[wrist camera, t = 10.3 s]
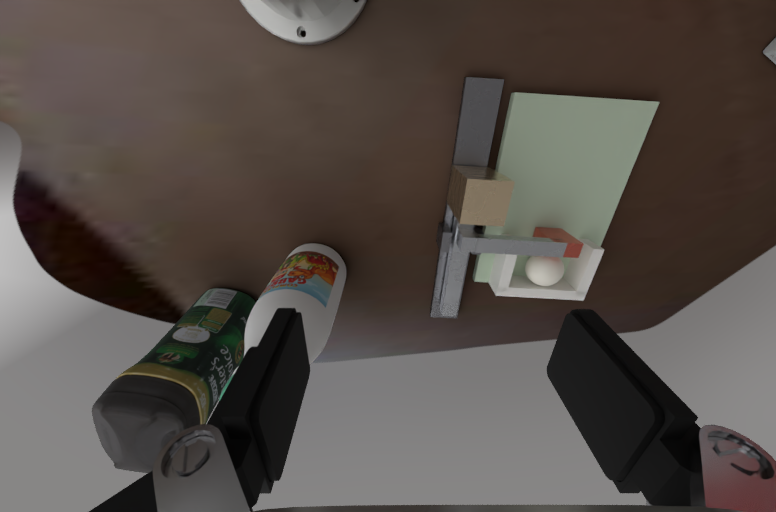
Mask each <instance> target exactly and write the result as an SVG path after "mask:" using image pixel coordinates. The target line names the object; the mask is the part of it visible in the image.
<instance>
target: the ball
mask: <svg viewBox="0 0 776 512" xmlns="http://www.w3.org/2000/svg"><path fill="white" fill-rule="evenodd" d="M525 272H526V275H527V277H528V278H529V279H530V280H531V281H532V282H533V283H535V284H537V285H540V286H550V285H553V284H555V283H557V282H558V281H559V280H560V279H561V278H562V276H563V274H564V264H563V262H562V260H561V259H560V258H559V257H544V256H531V257H530V258H529V259H528V260H527V262H526V265H525Z"/></svg>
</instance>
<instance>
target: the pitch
mask: <svg viewBox="0 0 776 512" xmlns="http://www.w3.org/2000/svg"><path fill="white" fill-rule="evenodd" d="M658 105H659V102H654V101H639V100H623V99H608V98H593V97H578V96H563V95H548V94H533V93H518V92H514V93H511V97H510V101H509V106H508V111H507V116H506V120H505V125H504V130H503V135H502V139H501V144H500V149H499V154H498V158H497V163H496V168H495V171H497V172H499V173H501V174H502V175H504V176H506V177H508V178H509V179H511V180H513V181H514V182H515V183H514V187H513V191H512V195H511V200H510V204H509V208H508V212H507V216H506V220H505V224H504V227H503V226H486V225H483V229H482V231H483V233H484V234H490V235H500V234H510V235H511V236H524V237H533V234H534V230H535V227H546V228H562V229H563V230H565V231H566V232H567V233H569V234H570V235H572V236H573V237H575V238H576V239H577V240H578V238H579V239H589V240H590V241H592V242H594V243H595V244H597V245H598V246H600V247H601V244H602V242H603V239H604V237H605V235H606V232H607V230H608V227H609V225H610V222H611V220H612V217H613V215H614V212H615V210H616V208H617V205H618V203H619V200H620V198H621V195H622V193H623V190H624V188H625V185H626V183H627V181H628V178H629V176H630V173H631V171H632V168H633V166H634V163H635V161H636V159H637V156H638V154H639V151H640V149H641V146H642V144H643V141H644V139H645V136H646V134H647V132H648V129H649V127H650V124H651V122H652V119H653V117H654V114H655V112H656V109H657V107H658ZM494 257H495V254H492V253H481V255H477V258H476V263H475V267H474V272H473V277H472V278H473V280H474V282H489V278H490V274H491V270H492V265H493V261H494ZM530 257H531V256H527V255H517V259H516V262H515V266H514V269H513V273H512V275H514V276H527V275H526V272H525V265H526V262H527V260H528V259H529V258H530ZM559 258H560V259H561V260H562V262H563V264H564V274H563V276H562V278H564V275H565V273H566V270H567V267H568V264H569V262H570V259H571V258H569V257H563V258H562V257H559Z"/></svg>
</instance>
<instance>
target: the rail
mask: <svg viewBox="0 0 776 512" xmlns="http://www.w3.org/2000/svg"><path fill="white" fill-rule="evenodd" d="M503 84H504V79H489V78H474V77H465V78H464V85H463V91H462V98H461V105H460V112H459V119H458V125H457V132H456V139H455V146H454V152H453V159H452V165H460V166H476V167H487V164H488V159H489V154H490V149H491V144H492V139H493V134H494V129H495V124H496V119H497V114H498V109H499V104H500V99H501V94H502V89H503ZM451 169H452V166H451ZM450 176H451V173H450ZM449 183H450V180H449ZM448 189H449V186H448ZM447 196H448V193H447ZM453 222H454V214H453V212H452V211H451V209H450V207H449V206H448V204H447V200H446V207H445V214H444V220H443V223H439V226H438V233H437V240H436V242H437V245H438V248H439V254H438V261H437V268H436V275H435V281H434V288H433V295H432V302H431V308H430V317H441V318H457V315H458V310H459V305H460V300H461V295H462V290H463V285H464V280H465V275H466V270H467V265H468V260H469V255H470V252H469V253H468V258H467V263H466V268H465V273H464V278H463V283H462V288H461V293H460V298H459V304H458V309H457V314H456V317H454V316H442V315H441V311H440V302H441V296H442V290H443V284H444V277H445V271H446V265H447V259H448V253H449V250H450V244H451V238H452V228H453ZM473 230H474V232H475V233H476V234H484V233H483V231H482V230H481V229H480V227H479V226H478V225H474V227H473ZM471 253H472V254H477V255H481V253H475V252H471Z"/></svg>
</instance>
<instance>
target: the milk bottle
mask: <svg viewBox="0 0 776 512" xmlns="http://www.w3.org/2000/svg"><path fill="white" fill-rule="evenodd" d="M345 280H346V266H345V263H344V261H343V259H342V258H341V256H340V255H339V254H338V253H337V252H336V251H334V250H333V249H332V248H330V247H328V246H325V245H322V244H317V243H310V244H304V245H301V246H299V247H297V248H296V249H294V250H293V251H292V252H291V253H290V255H289V256H288V257H287V258H286V260H285V261H284V263H283V264H282V265H281V267H280V268H279V270H278V271H277V272H276V274H275V275H274V277H273V278H272V280H271V281H270V282H269V284H268V285H267V287H266V288H265V290H264V291H263V293H262V294H261V296H260V297H259V299H258V300H257V302H256V304H255V305H254V307H253V309H252V311H251V313H250V315H249V317H248V320H247V324H246V328H245V337H244V343H245V349H244V356H245V354H246V352H247V351H248V349H249V348H251V347H257V346H258V344H259V342H260V341H261V339H262V337H263V335H264V333H265V331H266V329H267V327H268V325H269V323H270V321H271V319H272V317H273V316H274V314H275V312H276V310H277V309H278V308H295V309H296V312H301V314H302V320H303V326H304V333H305V339H306V345H307V352H308V358H309V364H311V363H312V362H313V361H314V360H315V359H316V358H317V357H318V356H319V354H320V353H321V352H322V350H323V348H324V347H325V345H326V343H327V341H328V338H329V336H330V333H331V330H332V327H333V324H334V320H335V317H336V313H337V310H338V306H339V303H340V299H341V295H342V292H343V288H344V284H345ZM243 358H244V357H243ZM238 367H239V366H238ZM238 367H237V368H236V369H235V370H234V372H233V374H232V376H231V377H230V379H229V380H228V382H227V383H226V385H225V387H224V388H223V390H222V392H221V395H220V399H221V398H222V396H223V394H224V392H225V390H226V389H227V387H228V385H229V383H230V381H231V379H232V378H233V376H234V374H235V372H236V370H237V369H238ZM220 399H219V401H220Z"/></svg>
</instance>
